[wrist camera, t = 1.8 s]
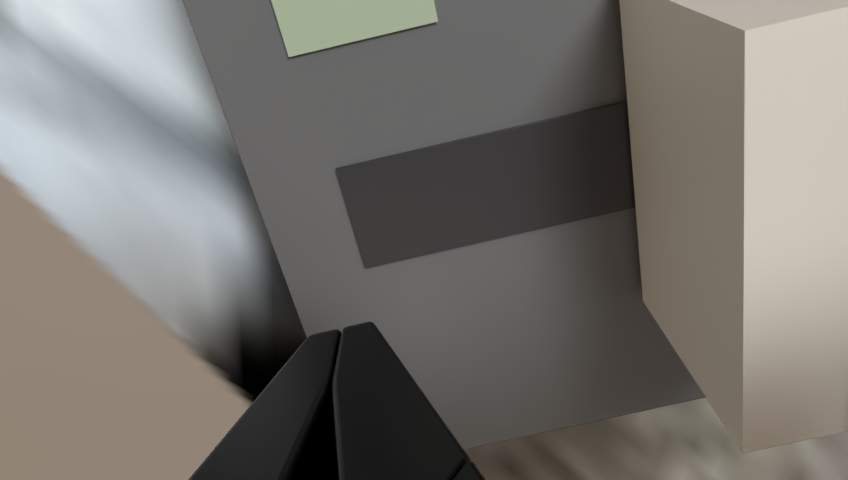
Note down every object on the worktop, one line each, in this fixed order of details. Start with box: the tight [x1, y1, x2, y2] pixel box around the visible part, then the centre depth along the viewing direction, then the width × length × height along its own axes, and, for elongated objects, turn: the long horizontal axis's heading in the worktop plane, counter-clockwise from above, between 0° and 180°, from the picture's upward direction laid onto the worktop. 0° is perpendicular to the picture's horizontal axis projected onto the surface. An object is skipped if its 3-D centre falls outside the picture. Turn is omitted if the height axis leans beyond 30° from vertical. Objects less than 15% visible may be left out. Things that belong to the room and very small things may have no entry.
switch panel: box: [183, 0, 705, 450], centre depth 13 cm, size 12×18×3 cm, turn 102°
